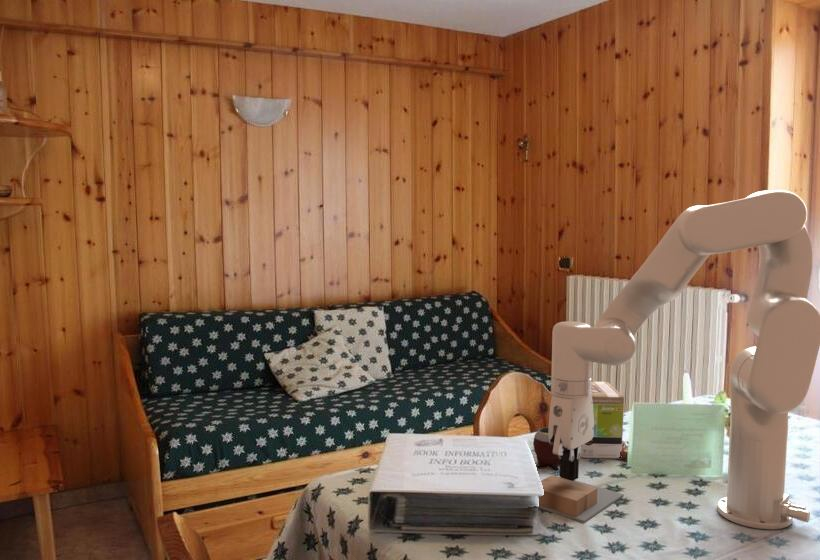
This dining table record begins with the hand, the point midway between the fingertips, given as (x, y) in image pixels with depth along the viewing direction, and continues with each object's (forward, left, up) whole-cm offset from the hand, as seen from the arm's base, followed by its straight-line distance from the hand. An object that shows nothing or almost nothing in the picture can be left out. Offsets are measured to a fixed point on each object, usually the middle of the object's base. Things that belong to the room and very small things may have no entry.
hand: (568, 477), depth 138 cm
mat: (0, -1, -5) cm, 5 cm away
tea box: (+11, -31, -5) cm, 34 cm away
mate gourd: (+13, -14, -5) cm, 20 cm away
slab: (0, -2, -3) cm, 3 cm away
